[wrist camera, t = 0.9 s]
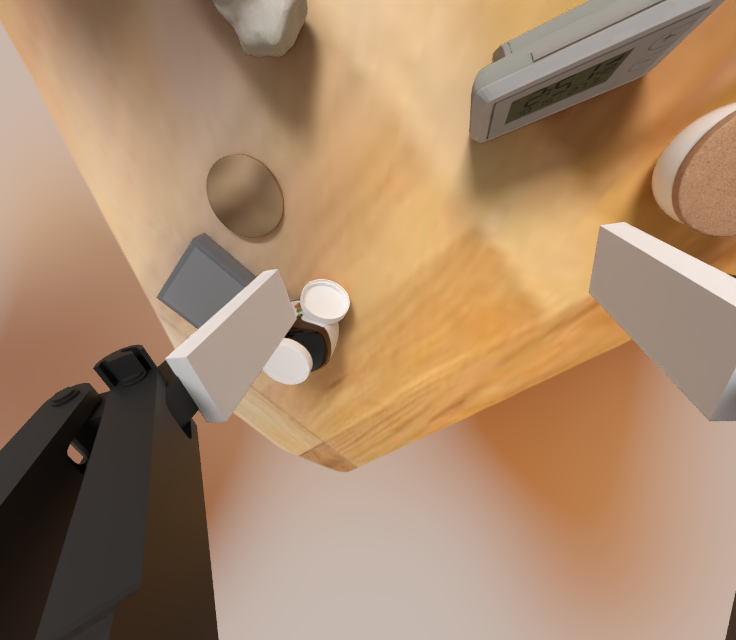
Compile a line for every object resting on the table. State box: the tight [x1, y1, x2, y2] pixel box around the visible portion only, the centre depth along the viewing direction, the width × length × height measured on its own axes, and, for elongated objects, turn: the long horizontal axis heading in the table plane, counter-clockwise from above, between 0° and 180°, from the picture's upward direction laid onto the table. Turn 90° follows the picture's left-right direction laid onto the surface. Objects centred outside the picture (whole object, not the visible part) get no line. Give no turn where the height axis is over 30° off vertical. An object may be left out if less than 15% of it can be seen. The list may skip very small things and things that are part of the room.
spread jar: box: [262, 279, 350, 385], centre depth 44 cm, size 12×11×12 cm
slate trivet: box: [157, 233, 257, 329], centre depth 49 cm, size 14×14×3 cm
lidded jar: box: [652, 102, 736, 237], centre depth 28 cm, size 11×11×9 cm
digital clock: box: [469, 0, 724, 143], centre depth 26 cm, size 16×9×11 cm, turn 101°
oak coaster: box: [207, 155, 284, 237], centre depth 41 cm, size 10×10×1 cm
